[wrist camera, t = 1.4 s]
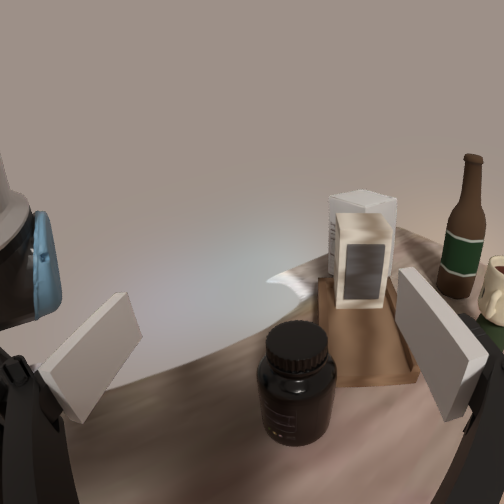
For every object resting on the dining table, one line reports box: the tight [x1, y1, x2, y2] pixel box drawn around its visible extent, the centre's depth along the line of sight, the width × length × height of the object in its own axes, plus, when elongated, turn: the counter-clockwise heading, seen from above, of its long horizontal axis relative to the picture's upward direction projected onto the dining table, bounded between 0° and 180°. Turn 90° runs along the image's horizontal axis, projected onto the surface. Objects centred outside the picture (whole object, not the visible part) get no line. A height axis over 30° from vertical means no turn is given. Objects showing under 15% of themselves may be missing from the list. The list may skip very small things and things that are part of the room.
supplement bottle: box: [257, 320, 337, 447], centre depth 24 cm, size 7×7×12 cm
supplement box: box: [328, 189, 397, 276], centre depth 50 cm, size 9×9×15 cm
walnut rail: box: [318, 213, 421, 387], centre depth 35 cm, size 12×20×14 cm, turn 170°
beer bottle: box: [436, 154, 486, 299], centre depth 39 cm, size 8×8×24 cm
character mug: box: [476, 256, 504, 352], centre depth 27 cm, size 11×7×13 cm, turn 113°
